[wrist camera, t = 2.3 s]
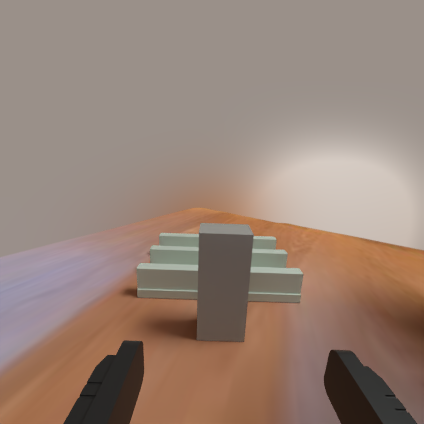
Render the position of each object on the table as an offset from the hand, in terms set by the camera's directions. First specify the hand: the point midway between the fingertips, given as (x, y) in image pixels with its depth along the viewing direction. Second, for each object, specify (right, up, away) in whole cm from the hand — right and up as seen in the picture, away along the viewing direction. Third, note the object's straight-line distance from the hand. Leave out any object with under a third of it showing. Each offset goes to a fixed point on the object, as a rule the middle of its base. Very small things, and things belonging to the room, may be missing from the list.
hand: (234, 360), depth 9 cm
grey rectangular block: (0, -7, +15) cm, 16 cm away
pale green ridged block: (0, -4, +26) cm, 26 cm away
